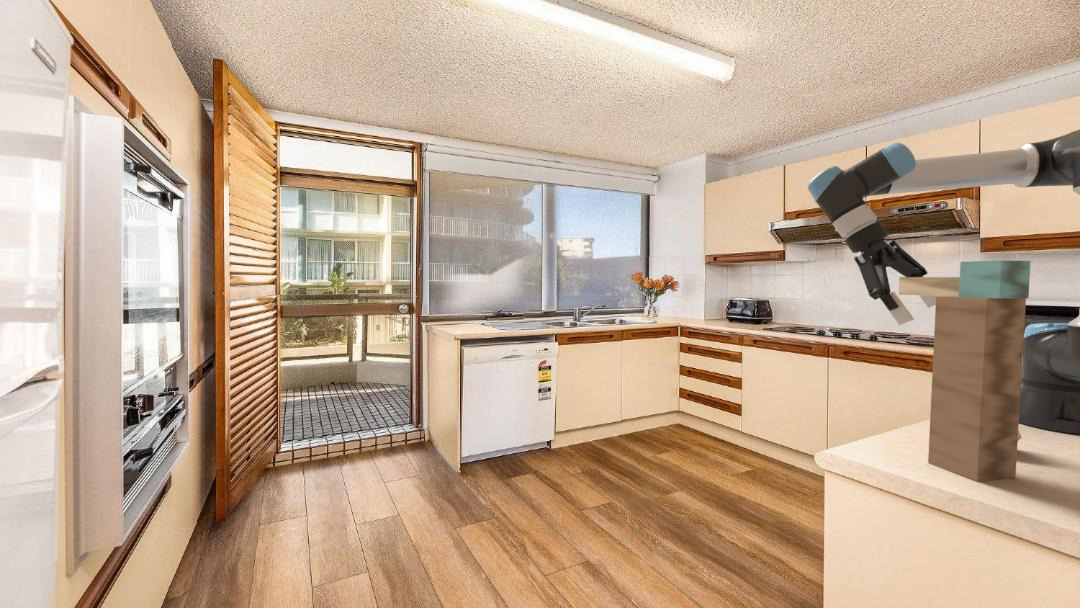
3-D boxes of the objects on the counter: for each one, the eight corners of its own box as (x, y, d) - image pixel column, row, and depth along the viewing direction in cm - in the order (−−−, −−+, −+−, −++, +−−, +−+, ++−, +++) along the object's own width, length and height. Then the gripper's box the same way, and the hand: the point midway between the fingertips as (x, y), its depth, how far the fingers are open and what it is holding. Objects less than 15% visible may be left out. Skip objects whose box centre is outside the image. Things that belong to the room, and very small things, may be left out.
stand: (964, 459, 87) (972, 296, 85) (1015, 477, 79) (1025, 298, 77) (928, 462, 85) (936, 296, 83) (976, 481, 77) (986, 298, 76)
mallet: (918, 294, 94) (919, 264, 93) (1028, 298, 76) (1030, 260, 76) (893, 294, 92) (894, 263, 92) (999, 298, 75) (1001, 260, 75)
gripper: (872, 229, 114) (929, 305, 109) (815, 250, 102) (875, 337, 97) (903, 211, 108) (965, 290, 102) (846, 231, 96) (912, 322, 90)
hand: (921, 313), depth 99 cm, fingers open, 13 cm apart
